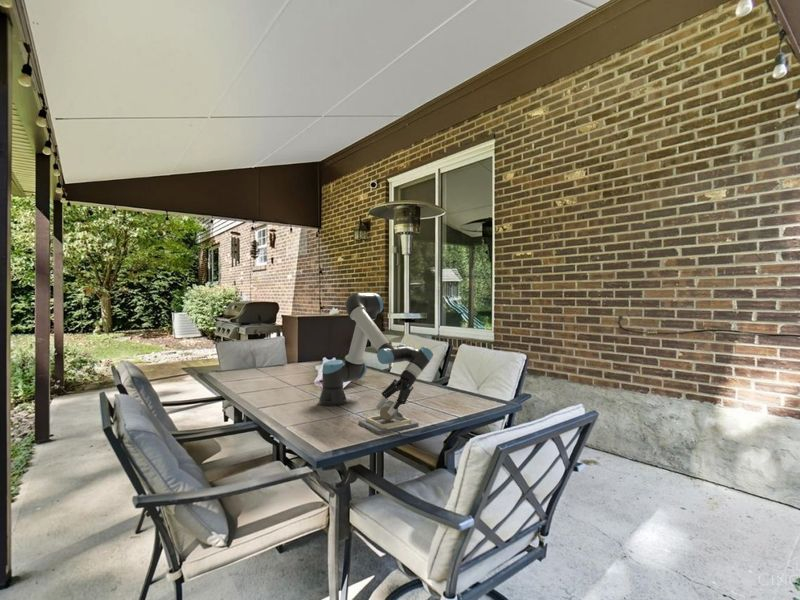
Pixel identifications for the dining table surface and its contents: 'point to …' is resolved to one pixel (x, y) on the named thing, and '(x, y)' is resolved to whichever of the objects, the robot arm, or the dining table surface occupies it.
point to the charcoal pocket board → (387, 424)
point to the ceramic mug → (386, 416)
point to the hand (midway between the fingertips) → (383, 411)
